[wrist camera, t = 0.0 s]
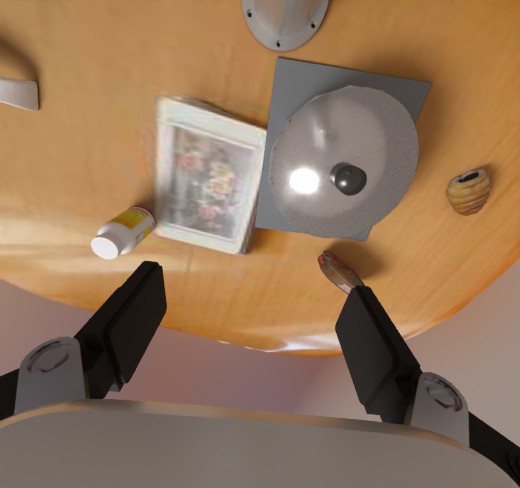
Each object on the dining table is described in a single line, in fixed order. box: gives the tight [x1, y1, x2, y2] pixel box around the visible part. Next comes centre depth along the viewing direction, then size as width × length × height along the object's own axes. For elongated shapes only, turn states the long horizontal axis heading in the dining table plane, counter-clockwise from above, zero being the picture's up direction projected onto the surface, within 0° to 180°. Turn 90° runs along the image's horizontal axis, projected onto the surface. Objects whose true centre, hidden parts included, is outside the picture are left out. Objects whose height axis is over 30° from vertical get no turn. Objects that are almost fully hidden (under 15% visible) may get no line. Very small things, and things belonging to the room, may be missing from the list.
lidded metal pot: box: [268, 85, 419, 238], centre depth 36 cm, size 24×24×13 cm
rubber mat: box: [255, 58, 432, 241], centre depth 42 cm, size 30×26×1 cm
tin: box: [318, 251, 365, 295], centre depth 50 cm, size 15×3×8 cm, turn 50°
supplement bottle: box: [91, 207, 155, 259], centre depth 43 cm, size 7×7×13 cm
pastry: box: [447, 169, 491, 216], centre depth 43 cm, size 9×7×4 cm
